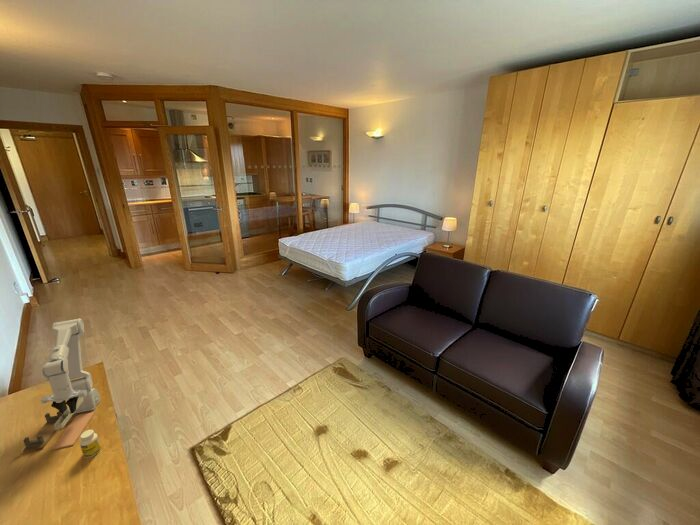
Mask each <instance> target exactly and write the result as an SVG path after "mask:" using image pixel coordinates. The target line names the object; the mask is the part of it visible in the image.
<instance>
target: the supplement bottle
mask: <svg viewBox="0 0 700 525" xmlns="http://www.w3.org/2000/svg"><path fill="white" fill-rule="evenodd" d="M98 436H99V435H98V434H97V433H95V430H94V429H87V430H85V431H83V432H82V433H81V435H80V436H79V438H80V439H79V440H80V441H79V447H80V449H81V453H82V456H83V457H84V458H85V459H87V458H89V459H90V458H92V457H94V456H96V455H97V454H98V453H99V452H100V451H101V449H102V446H101V443H100V439H99V437H98Z"/></svg>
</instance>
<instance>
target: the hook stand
mask: <svg viewBox="0 0 700 525" xmlns="http://www.w3.org/2000/svg"><path fill="white" fill-rule="evenodd" d="M61 415H62V413H61V412H60V411H59V410H58V411H57V412H56V415H53V416H51V415H50V413H49V412H46V413H45V415H44V418H45V420H46V422H45V424H44V425H43V426H42V427H41V428H40V430H39V431H38V432H37V433H36V434H35V435H34V436H33V437H32V439H31V440H30V437H29V436H27V437H26V436H25V437H24V438H23V440H22V441H23V444H24V446H25V448H24V449H23V450H22V453H23V454H27V453H28V454H29V453H31V452H37V451H42V450H43V449H44V448H45V446H47V444H48V443H49V442H50V440H51V439H52V438H53V436H54V435H55V434H56V432H57V431H58V430H59V429H57V430H55V428H54V424H55V423H56V422H57V420H58V419H59V418H60V417H61Z"/></svg>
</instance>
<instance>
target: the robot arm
mask: <svg viewBox="0 0 700 525" xmlns="http://www.w3.org/2000/svg"><path fill="white" fill-rule="evenodd" d="M51 332H52V334H53V335H54V337H55V345H54V347H51V349H50V351H49V356H48V358H47V362H46V363H44V364H43V365H42V367H41V368H42V370H41V371H42V376H43V377H44V378H45V379H46V381H48V383H49V386H50V389H51V391H52V394H50V395H47V396H43V397H42V398H41V399H40V402H41V404H42V405H43V404H46V403H49V402H51V405H50V407H52V408H53V409H56V410H58V411H60V412H61V413H62V414H63V413H64V412H65V410H66V409H67V408H68V407H69V408H70V411H71V413H74V412H75V413H74V414H73V415H75V414H80V413H85V412H89V411H94V410H95V409H96V407H97V406H98V404H99V402H100V401H101V400H102V399H101V398H102V397H100V393H99V391H98V388H96V387H95V388H94V387H93V385H94V383H93V377H92V374H91V372H88V371H86V370H83V362H82V361H83V360H82V350H81V349H82V348H81V337H83V336H84V335H85V324H84V320H83V319H82V318H80V317H79V318H75V319H70V320H63V321H57V322H53V324H52V326H51ZM92 387H93V388H92ZM81 396H82V397H83V400H84V401H83V402H82V403H81V405H80V406H79V407H78V409H77V410H76V404H77V400H78V397H81Z"/></svg>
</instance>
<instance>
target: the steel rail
mask: <svg viewBox="0 0 700 525" xmlns="http://www.w3.org/2000/svg"><path fill="white" fill-rule="evenodd" d="M83 401H84V400H83V397H82V396H81V397H78V400H77V404H76V410H77V409H78V407H79V406H80V405H81V403H82V402H83ZM74 413H75V412H74ZM74 413H71V411H70V408H69V406H67V409H66V410H65V412H64V413H63V414H62V415H61V417H60V418H59V419H58V420H57V422H56V423H55V424H54V428H55V430H57V429H58V430H60V429H61V430H62V429H63V428H64V427H65V426H66V425H67V424H68V422H69V421H70V419H71V418H72V417H73V416H74V415H75V414H76V413H75V414H74ZM58 430H57V431H58Z"/></svg>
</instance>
